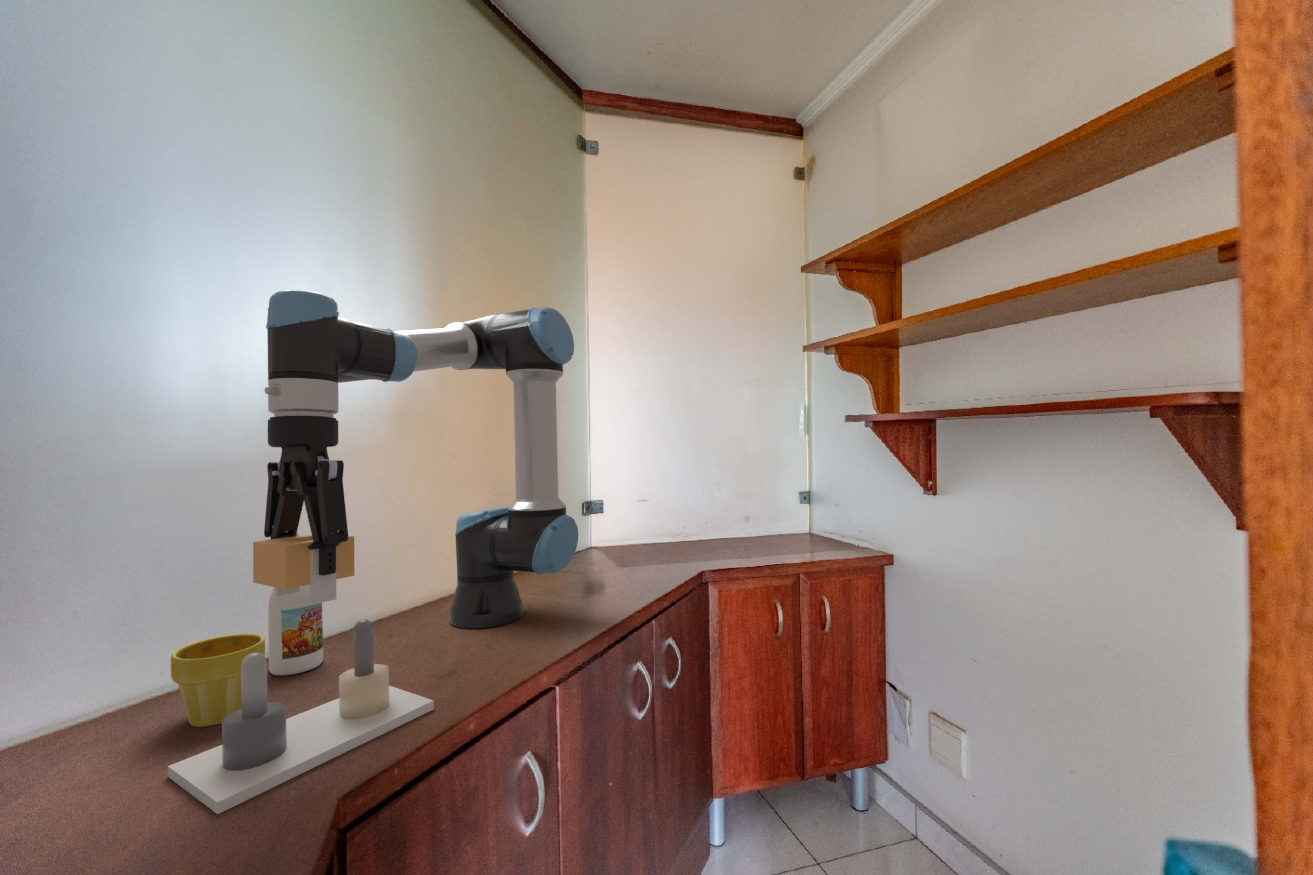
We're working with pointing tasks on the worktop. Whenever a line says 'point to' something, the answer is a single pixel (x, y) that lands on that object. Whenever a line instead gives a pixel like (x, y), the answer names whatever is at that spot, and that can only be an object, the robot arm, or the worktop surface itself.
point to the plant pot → (213, 675)
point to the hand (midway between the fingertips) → (304, 597)
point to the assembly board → (295, 729)
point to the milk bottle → (294, 633)
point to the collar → (294, 561)
